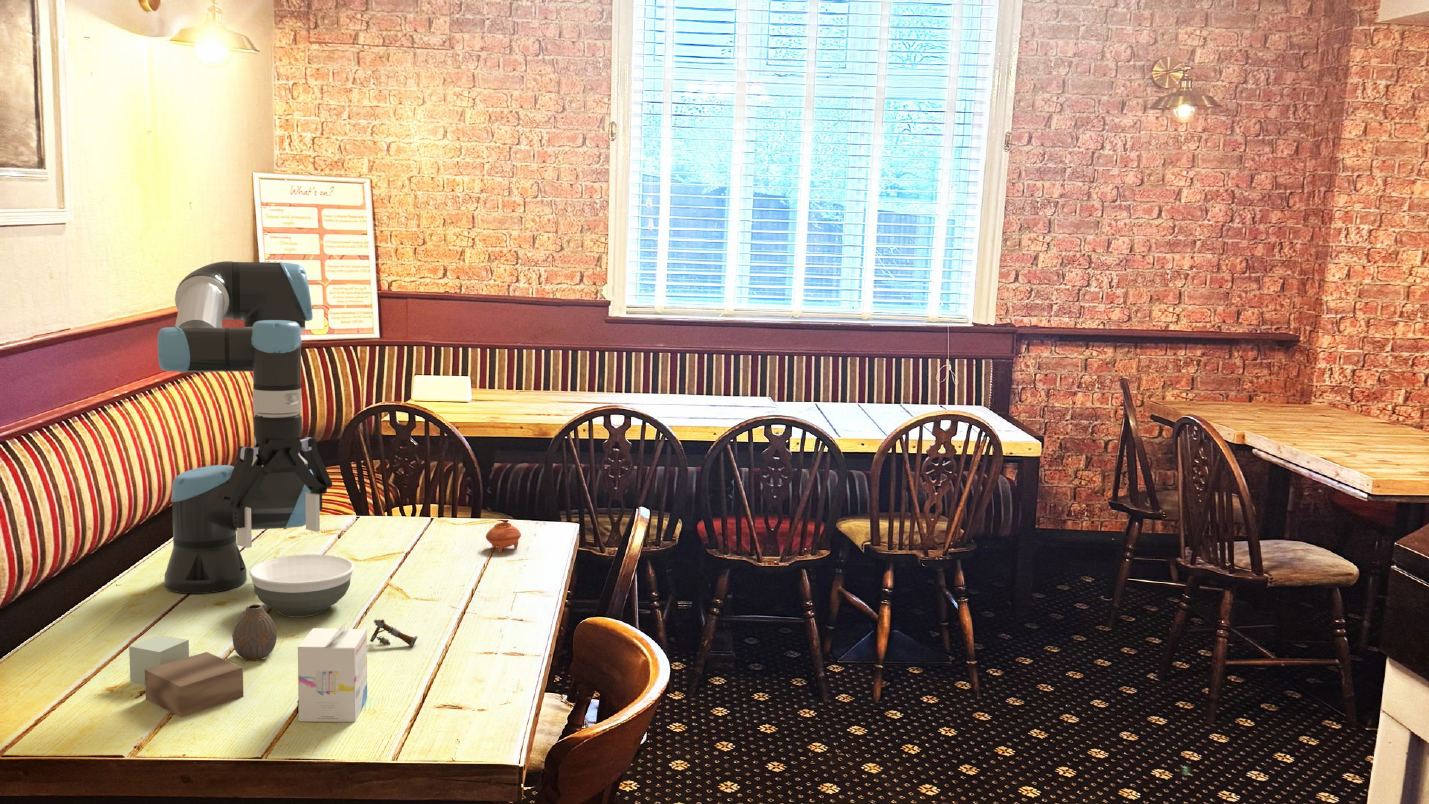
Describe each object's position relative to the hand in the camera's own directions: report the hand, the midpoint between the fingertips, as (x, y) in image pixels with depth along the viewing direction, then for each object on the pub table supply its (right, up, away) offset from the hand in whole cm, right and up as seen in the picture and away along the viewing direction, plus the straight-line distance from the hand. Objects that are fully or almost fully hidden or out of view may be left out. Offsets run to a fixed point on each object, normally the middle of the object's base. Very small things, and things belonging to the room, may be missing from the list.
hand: (279, 538), depth 193 cm
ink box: (+16, -24, -20) cm, 35 cm away
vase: (-4, -20, 0) cm, 21 cm away
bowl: (-5, -17, +24) cm, 30 cm away
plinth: (-6, -23, -18) cm, 29 cm away
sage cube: (-15, -21, -11) cm, 28 cm away
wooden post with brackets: (+17, -20, +8) cm, 27 cm away
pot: (+25, -11, +70) cm, 75 cm away
